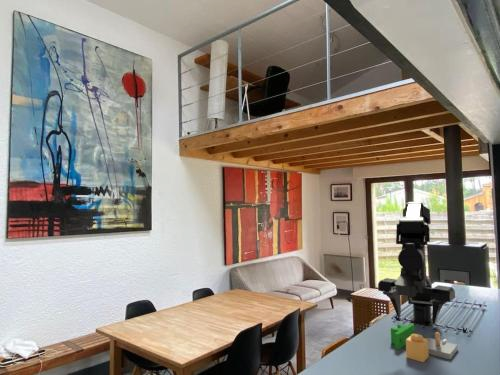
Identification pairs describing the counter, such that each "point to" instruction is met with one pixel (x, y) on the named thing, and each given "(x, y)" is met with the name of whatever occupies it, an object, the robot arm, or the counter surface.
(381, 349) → the counter surface
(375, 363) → the counter surface
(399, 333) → the pipe clamp
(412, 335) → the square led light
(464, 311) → the counter surface
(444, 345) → the plate
